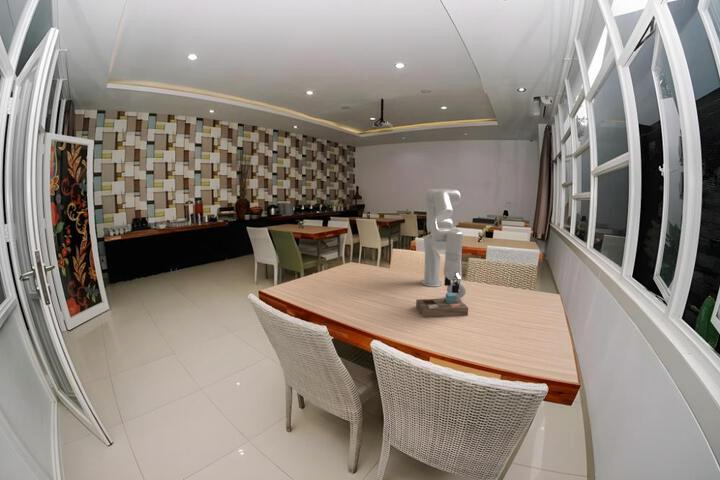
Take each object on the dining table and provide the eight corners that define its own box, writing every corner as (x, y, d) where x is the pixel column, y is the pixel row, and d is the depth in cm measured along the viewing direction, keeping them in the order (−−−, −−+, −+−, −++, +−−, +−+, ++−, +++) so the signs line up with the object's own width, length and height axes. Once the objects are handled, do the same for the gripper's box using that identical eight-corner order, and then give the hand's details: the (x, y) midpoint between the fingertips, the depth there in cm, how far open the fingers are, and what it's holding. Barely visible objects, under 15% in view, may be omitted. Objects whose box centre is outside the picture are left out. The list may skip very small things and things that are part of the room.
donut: (446, 298, 158) (447, 281, 157) (446, 296, 162) (447, 279, 160) (465, 301, 155) (466, 283, 153) (465, 298, 158) (466, 281, 156)
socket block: (416, 306, 147) (416, 299, 147) (457, 305, 149) (457, 297, 148) (423, 317, 136) (423, 308, 135) (467, 315, 137) (468, 306, 137)
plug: (445, 307, 146) (445, 293, 145) (452, 307, 146) (453, 292, 145) (447, 311, 142) (448, 295, 141) (455, 310, 143) (456, 295, 141)
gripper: (439, 251, 148) (437, 283, 151) (453, 261, 131) (450, 296, 134) (453, 251, 148) (451, 282, 152) (468, 260, 132) (466, 295, 135)
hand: (451, 288), depth 143 cm, fingers open, 9 cm apart
